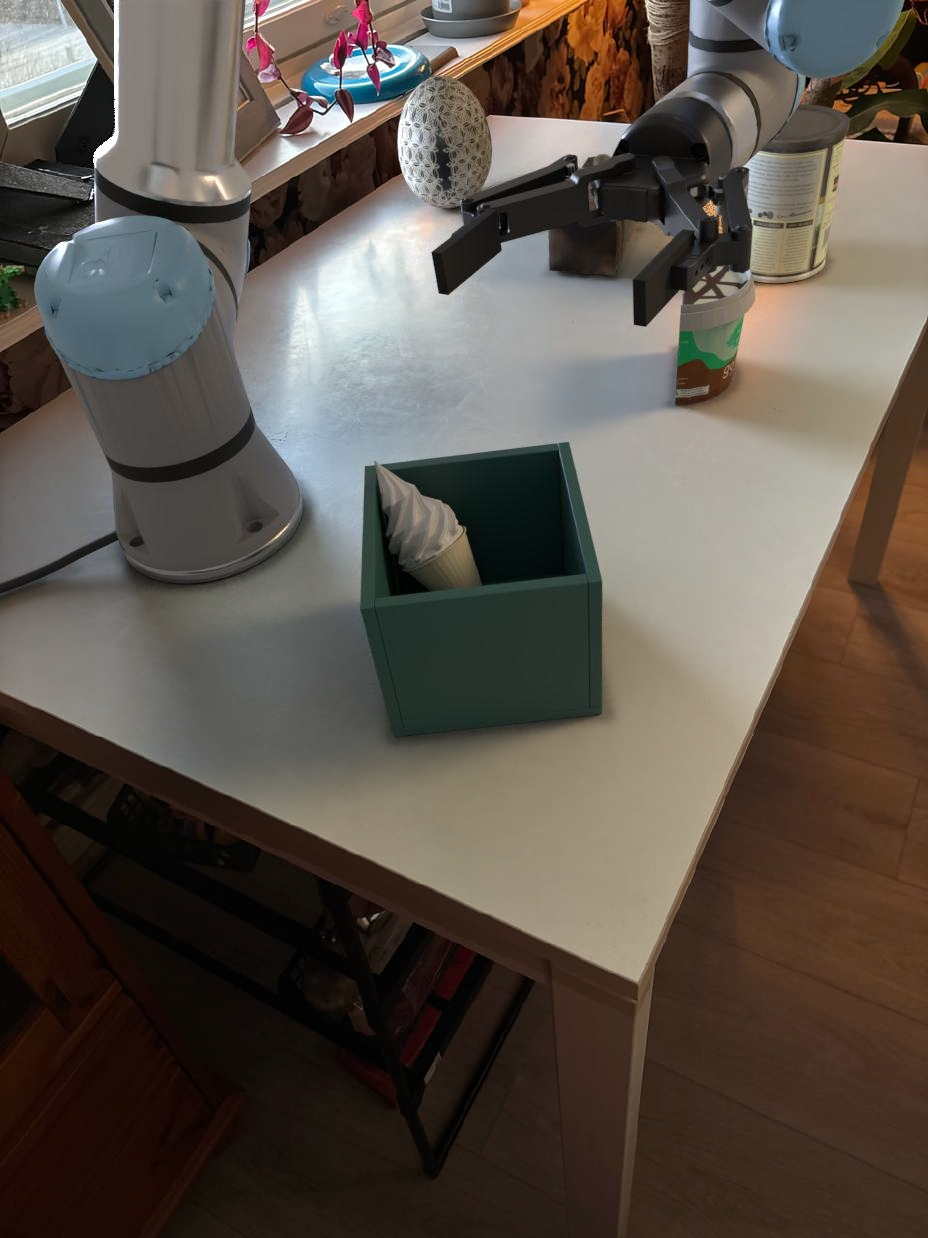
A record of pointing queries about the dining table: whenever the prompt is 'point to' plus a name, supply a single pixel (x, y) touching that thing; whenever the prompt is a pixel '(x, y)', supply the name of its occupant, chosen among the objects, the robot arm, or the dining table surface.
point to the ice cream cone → (426, 536)
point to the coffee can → (795, 194)
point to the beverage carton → (590, 241)
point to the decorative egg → (444, 142)
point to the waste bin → (489, 597)
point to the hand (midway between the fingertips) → (533, 288)
